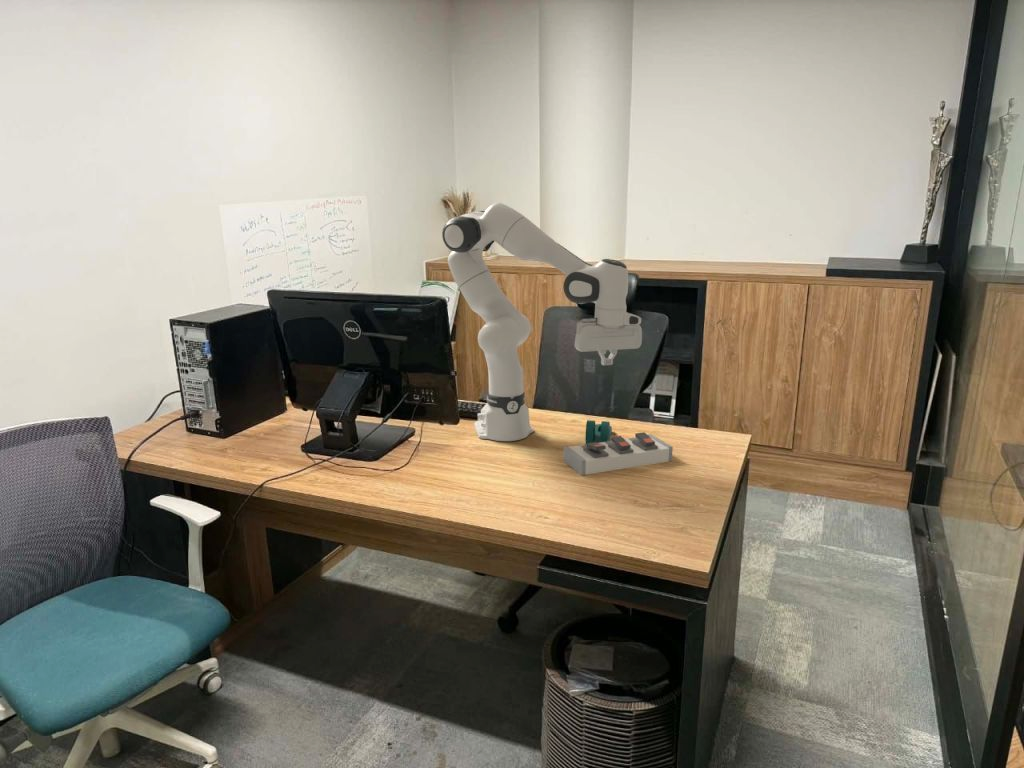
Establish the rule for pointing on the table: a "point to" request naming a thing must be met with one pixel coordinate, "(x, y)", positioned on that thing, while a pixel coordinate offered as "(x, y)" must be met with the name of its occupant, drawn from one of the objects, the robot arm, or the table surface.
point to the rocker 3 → (645, 439)
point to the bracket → (598, 432)
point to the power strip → (616, 456)
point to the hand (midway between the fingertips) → (606, 364)
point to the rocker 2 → (620, 442)
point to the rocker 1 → (595, 446)
